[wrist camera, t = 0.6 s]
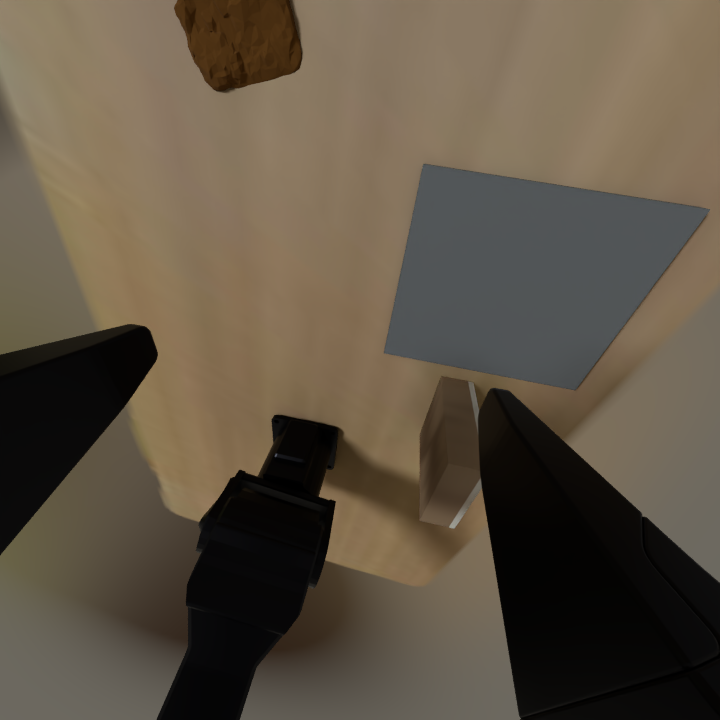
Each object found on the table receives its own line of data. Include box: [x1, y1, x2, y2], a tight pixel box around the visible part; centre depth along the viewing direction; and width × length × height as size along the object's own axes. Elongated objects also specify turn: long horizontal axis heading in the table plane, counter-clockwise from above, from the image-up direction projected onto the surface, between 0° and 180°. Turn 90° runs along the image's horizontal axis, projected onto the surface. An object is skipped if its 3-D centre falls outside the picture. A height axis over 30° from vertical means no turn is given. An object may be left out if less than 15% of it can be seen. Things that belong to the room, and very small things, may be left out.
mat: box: [384, 164, 710, 390], centre depth 19 cm, size 12×14×1 cm
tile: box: [419, 376, 482, 528], centre depth 23 cm, size 7×2×8 cm, turn 173°
